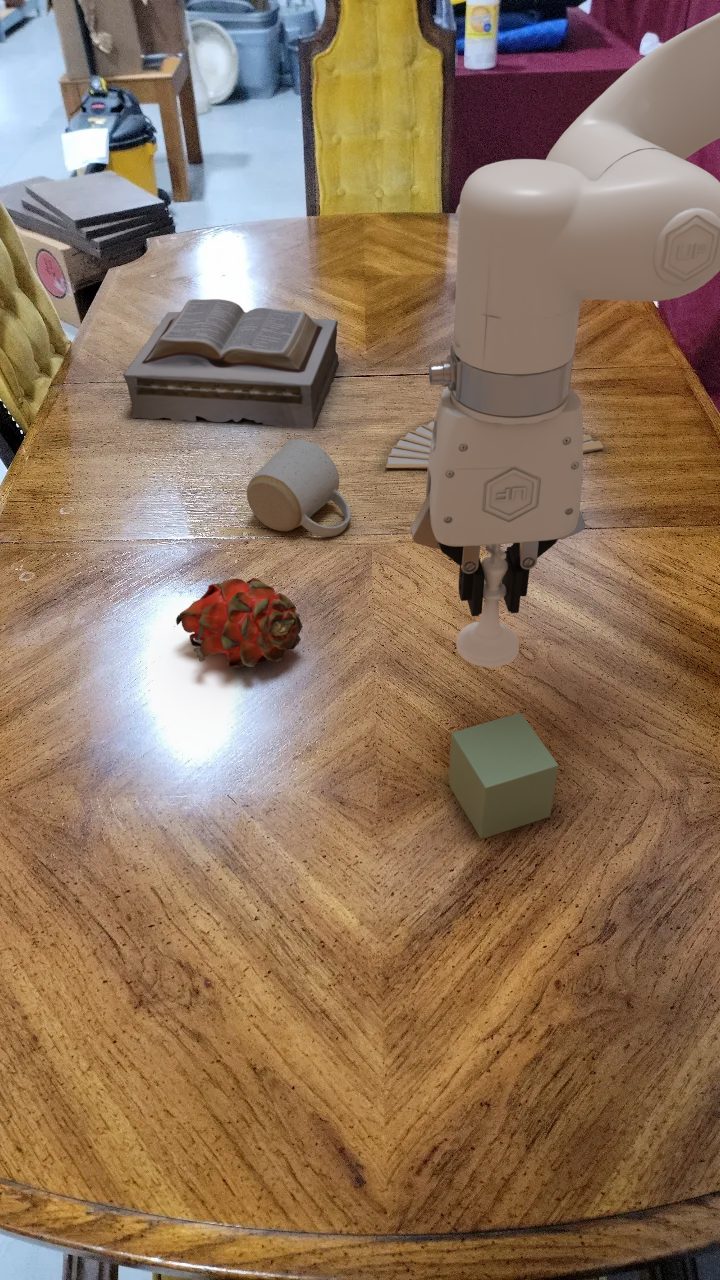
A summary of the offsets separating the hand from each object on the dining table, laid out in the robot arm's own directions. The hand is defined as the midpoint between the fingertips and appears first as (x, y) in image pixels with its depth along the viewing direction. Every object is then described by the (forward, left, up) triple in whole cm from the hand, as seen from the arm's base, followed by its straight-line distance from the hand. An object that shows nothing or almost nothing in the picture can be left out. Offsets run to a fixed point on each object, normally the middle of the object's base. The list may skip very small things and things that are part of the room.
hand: (491, 601), depth 75 cm
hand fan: (-10, -48, -14) cm, 51 cm away
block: (0, +7, -14) cm, 16 cm away
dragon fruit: (+20, -13, -14) cm, 28 cm away
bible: (+20, -67, -14) cm, 71 cm away
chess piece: (0, 0, -5) cm, 5 cm away
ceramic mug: (+13, -35, -14) cm, 40 cm away
